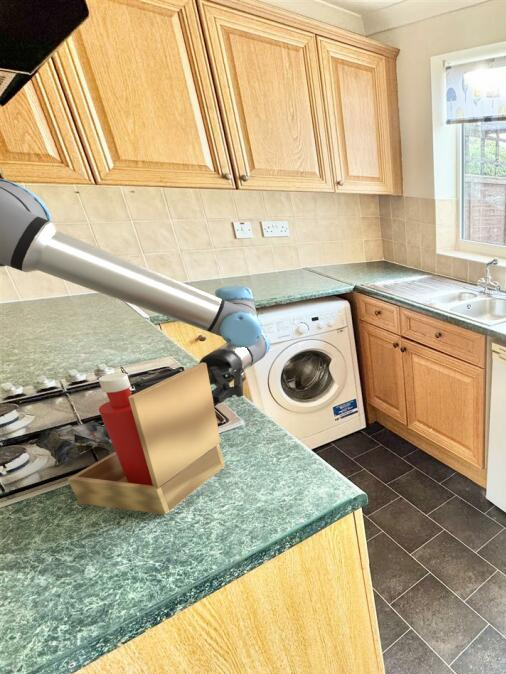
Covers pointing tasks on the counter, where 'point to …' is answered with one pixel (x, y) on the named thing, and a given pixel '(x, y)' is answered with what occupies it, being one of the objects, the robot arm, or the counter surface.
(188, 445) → the chest lid
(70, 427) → the foil
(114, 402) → the ketchup bottle
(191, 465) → the chest
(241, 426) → the counter surface
